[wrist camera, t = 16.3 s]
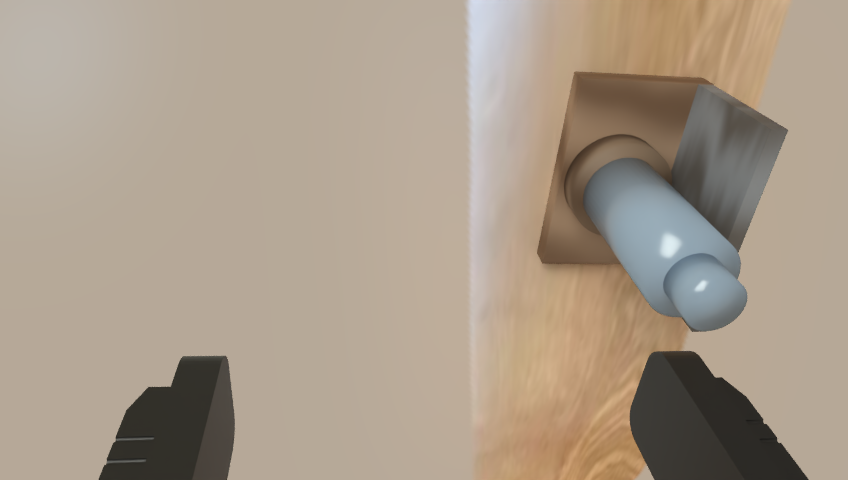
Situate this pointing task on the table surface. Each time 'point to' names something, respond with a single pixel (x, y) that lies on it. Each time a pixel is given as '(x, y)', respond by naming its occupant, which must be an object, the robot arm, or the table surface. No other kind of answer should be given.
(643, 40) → the table surface
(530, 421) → the table surface
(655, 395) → the robot arm
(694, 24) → the table surface
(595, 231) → the display stand
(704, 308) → the blue grey bottle
